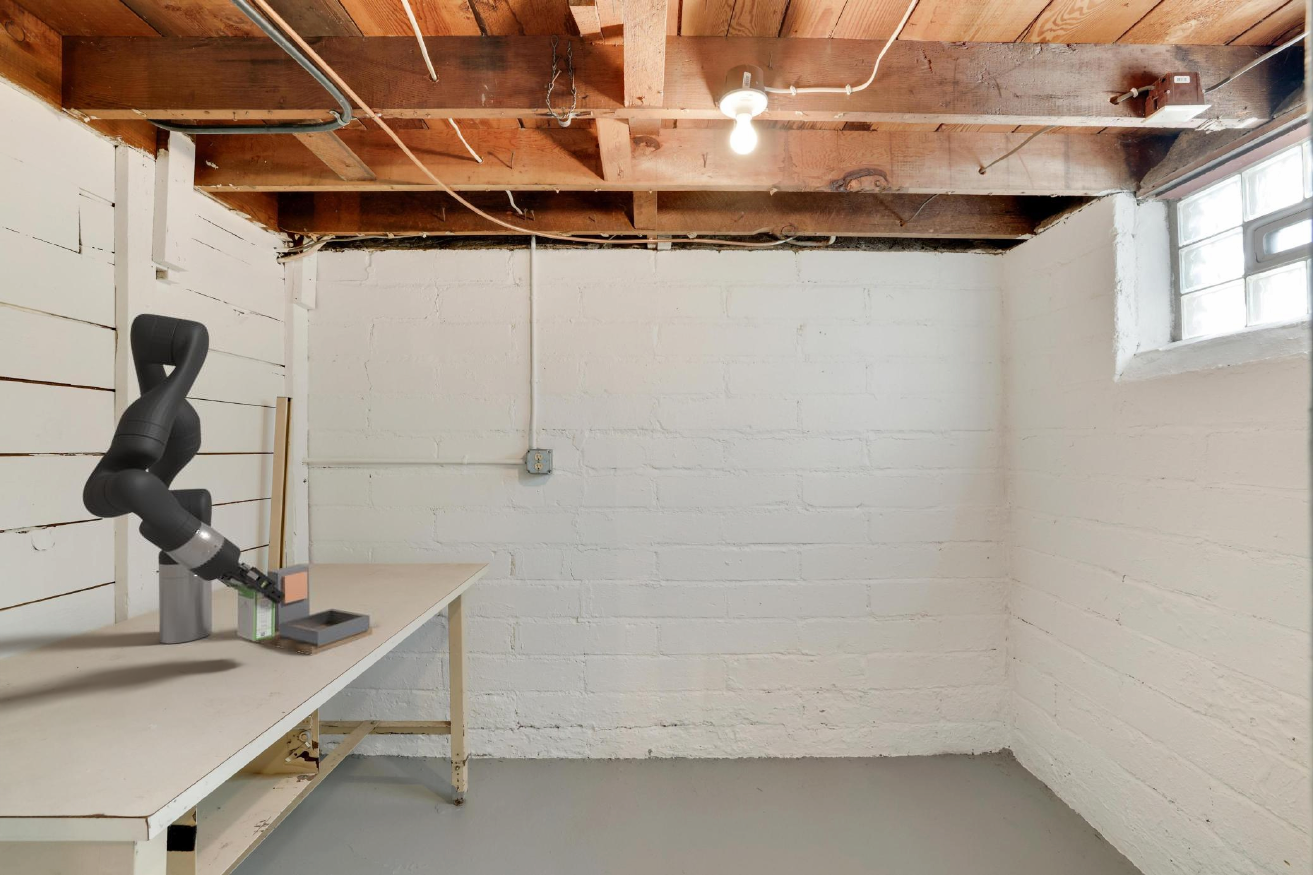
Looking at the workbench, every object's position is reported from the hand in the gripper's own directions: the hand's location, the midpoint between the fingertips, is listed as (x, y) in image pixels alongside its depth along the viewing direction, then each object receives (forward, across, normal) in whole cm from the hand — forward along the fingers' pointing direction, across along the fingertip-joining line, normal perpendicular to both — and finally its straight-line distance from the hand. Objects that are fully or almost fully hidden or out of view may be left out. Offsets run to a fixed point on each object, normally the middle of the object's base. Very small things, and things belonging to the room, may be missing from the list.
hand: (269, 597), depth 117 cm
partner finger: (+16, +12, 0) cm, 20 cm away
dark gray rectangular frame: (+16, +3, -1) cm, 16 cm away
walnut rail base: (+17, +5, +1) cm, 18 cm away
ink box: (+3, 0, +7) cm, 8 cm away
